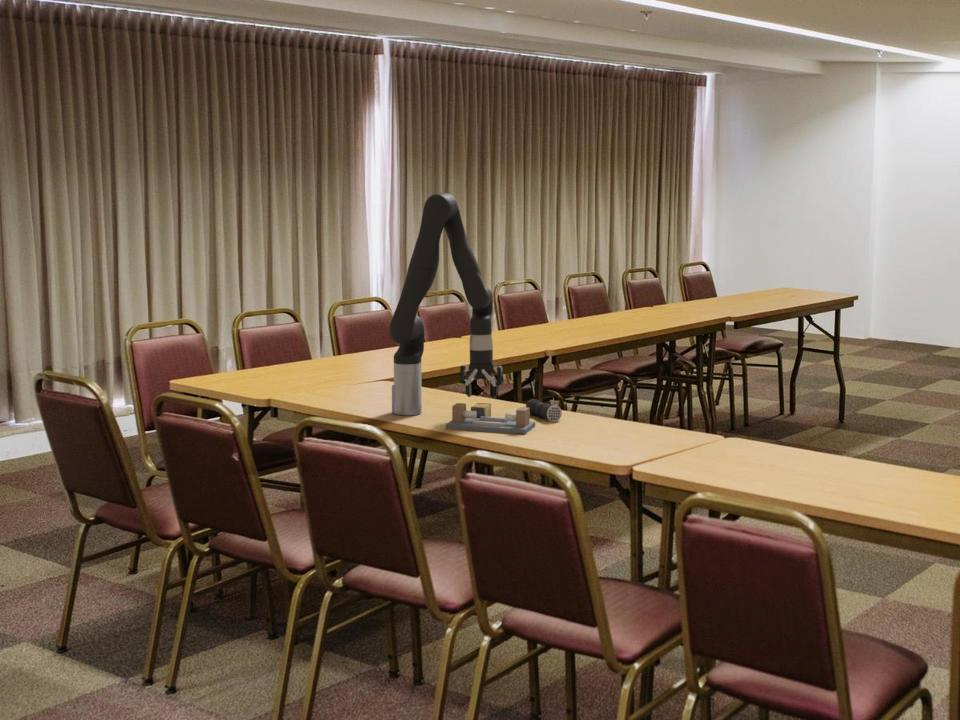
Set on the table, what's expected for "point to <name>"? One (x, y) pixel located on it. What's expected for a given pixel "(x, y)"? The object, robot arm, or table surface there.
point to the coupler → (482, 409)
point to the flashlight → (544, 410)
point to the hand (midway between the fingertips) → (481, 397)
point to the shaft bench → (490, 421)
